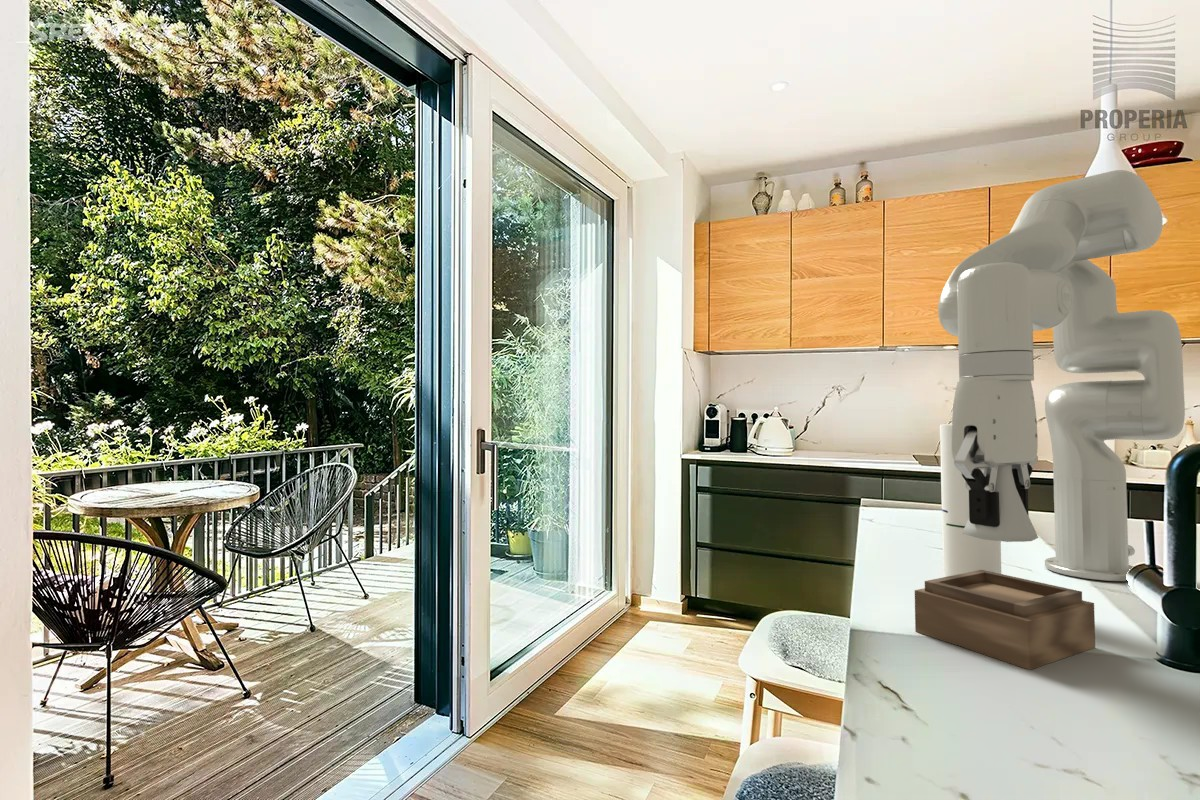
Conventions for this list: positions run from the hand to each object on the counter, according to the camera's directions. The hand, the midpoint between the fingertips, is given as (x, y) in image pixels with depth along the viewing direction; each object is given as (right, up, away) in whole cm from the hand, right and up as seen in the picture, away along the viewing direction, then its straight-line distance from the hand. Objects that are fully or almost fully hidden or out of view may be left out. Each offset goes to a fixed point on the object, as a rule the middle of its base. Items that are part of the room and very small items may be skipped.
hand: (999, 521), depth 73 cm
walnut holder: (0, -14, 0) cm, 14 cm away
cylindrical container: (+6, -14, +15) cm, 21 cm away
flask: (0, -2, 0) cm, 2 cm away
